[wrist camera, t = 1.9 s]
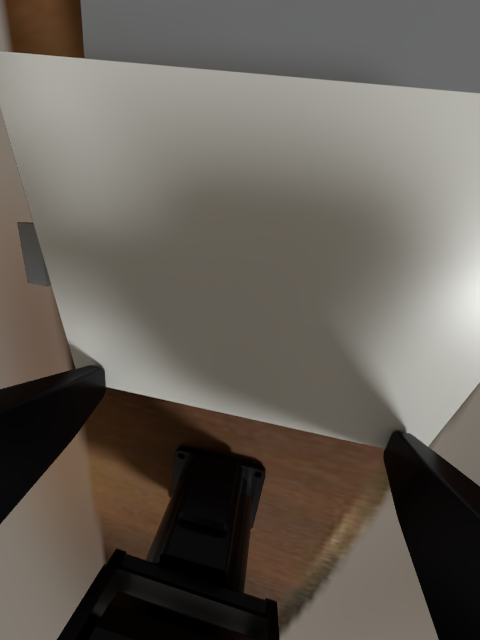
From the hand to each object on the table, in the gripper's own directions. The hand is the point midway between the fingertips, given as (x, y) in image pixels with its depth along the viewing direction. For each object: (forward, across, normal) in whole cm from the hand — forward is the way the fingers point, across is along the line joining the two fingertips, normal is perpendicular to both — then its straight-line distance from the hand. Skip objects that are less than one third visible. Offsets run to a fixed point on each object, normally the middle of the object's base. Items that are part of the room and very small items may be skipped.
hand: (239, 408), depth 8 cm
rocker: (0, 0, -4) cm, 4 cm away
